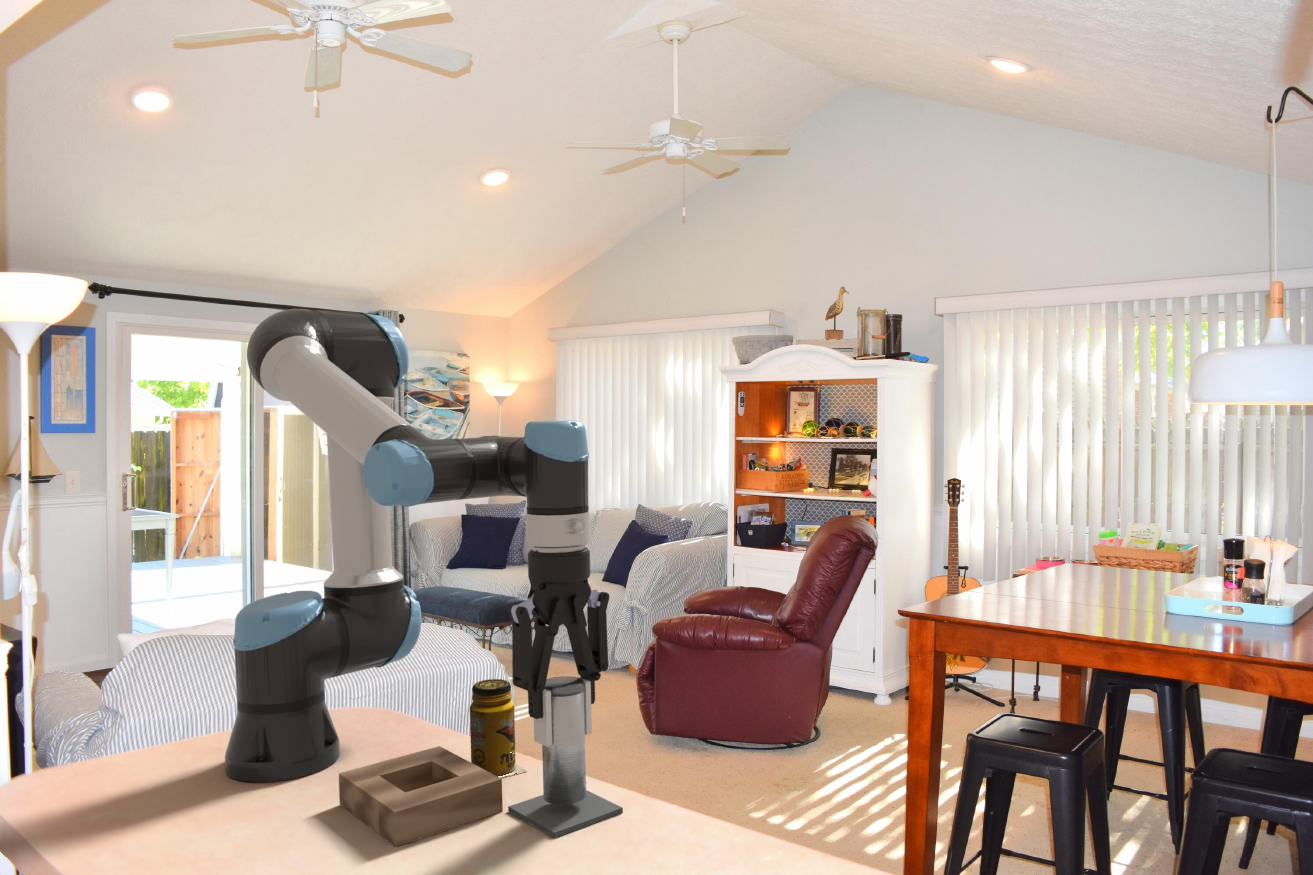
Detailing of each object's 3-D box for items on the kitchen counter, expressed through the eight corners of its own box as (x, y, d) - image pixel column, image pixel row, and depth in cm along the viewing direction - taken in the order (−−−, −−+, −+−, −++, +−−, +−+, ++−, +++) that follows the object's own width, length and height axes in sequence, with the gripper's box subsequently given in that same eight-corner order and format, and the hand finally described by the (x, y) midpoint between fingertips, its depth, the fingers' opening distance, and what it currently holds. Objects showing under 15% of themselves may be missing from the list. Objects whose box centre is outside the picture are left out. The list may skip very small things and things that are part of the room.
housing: (339, 804, 120) (338, 773, 120) (440, 775, 129) (439, 745, 129) (395, 846, 108) (394, 811, 107) (502, 810, 117) (501, 778, 117)
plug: (535, 795, 116) (532, 682, 116) (570, 783, 120) (567, 673, 119) (559, 808, 112) (556, 690, 112) (594, 796, 116) (592, 682, 115)
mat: (508, 811, 117) (508, 806, 117) (574, 788, 123) (574, 784, 123) (554, 837, 109) (554, 832, 109) (622, 812, 116) (622, 807, 116)
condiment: (527, 772, 129) (524, 684, 129) (468, 786, 125) (465, 696, 124) (504, 756, 135) (502, 673, 135) (447, 769, 131) (445, 683, 130)
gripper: (510, 559, 106) (516, 764, 107) (636, 542, 118) (640, 727, 119) (476, 552, 112) (482, 747, 113) (599, 537, 124) (603, 713, 125)
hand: (563, 736), depth 116 cm, fingers closed on plug, 5 cm apart
